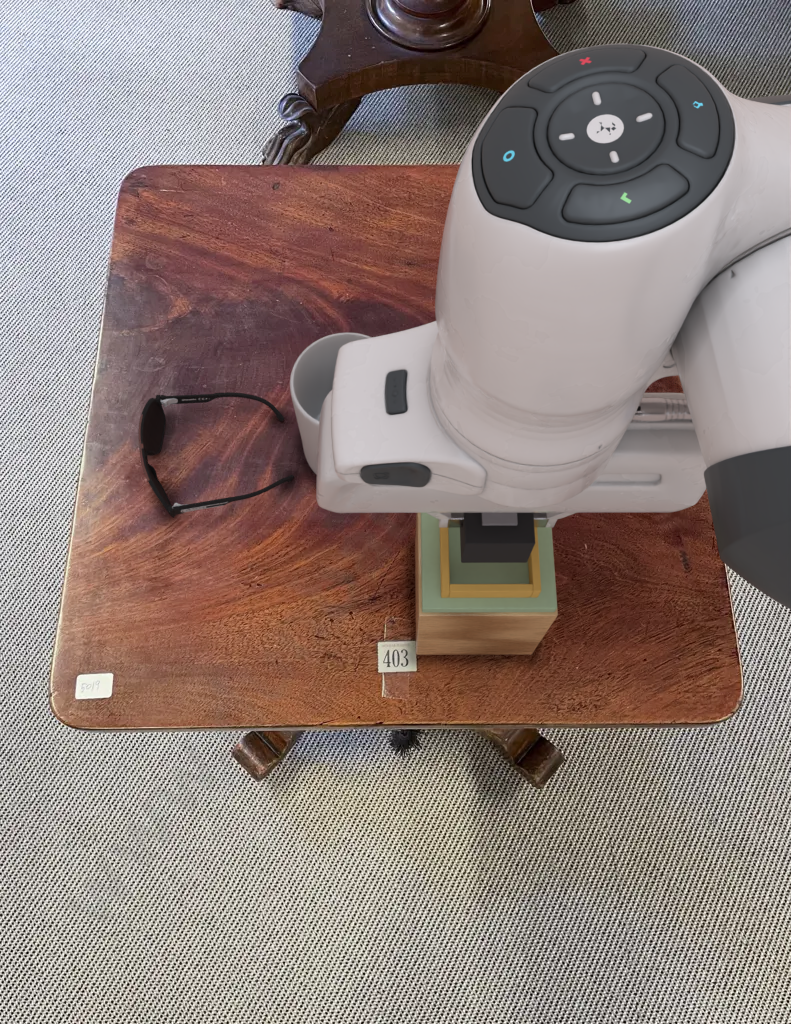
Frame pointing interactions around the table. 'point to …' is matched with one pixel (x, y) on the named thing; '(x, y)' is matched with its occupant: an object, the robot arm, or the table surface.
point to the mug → (315, 386)
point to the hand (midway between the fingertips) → (494, 515)
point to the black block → (497, 537)
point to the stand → (475, 625)
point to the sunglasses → (153, 439)
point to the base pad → (484, 576)
